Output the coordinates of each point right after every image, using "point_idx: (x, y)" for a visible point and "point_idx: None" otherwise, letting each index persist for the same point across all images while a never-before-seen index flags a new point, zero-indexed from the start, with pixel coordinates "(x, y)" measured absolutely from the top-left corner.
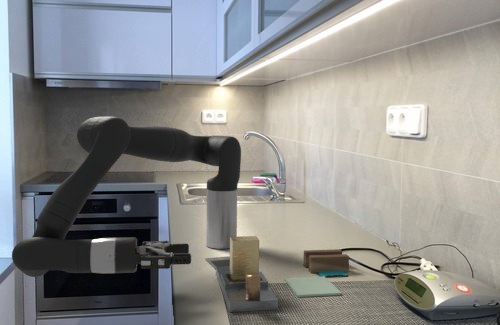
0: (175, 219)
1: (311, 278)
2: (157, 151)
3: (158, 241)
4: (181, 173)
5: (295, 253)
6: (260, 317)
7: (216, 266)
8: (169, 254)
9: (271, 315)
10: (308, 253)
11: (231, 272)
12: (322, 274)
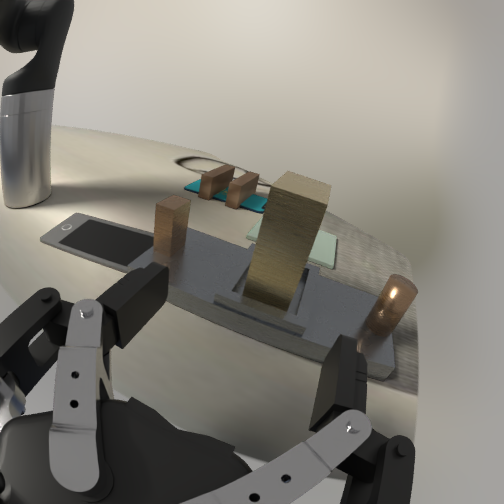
0: None
1: None
2: None
3: (10, 319)
4: None
5: (146, 179)
6: (407, 347)
7: (92, 254)
8: (363, 431)
9: (400, 331)
10: (214, 178)
11: (281, 286)
12: (255, 208)
